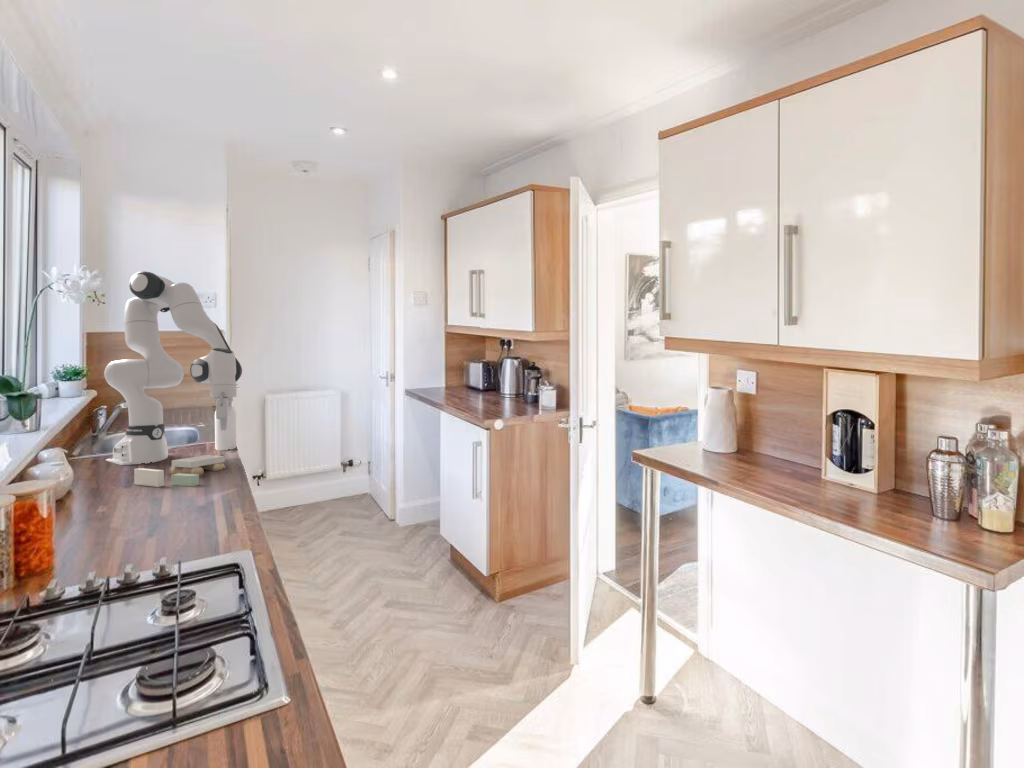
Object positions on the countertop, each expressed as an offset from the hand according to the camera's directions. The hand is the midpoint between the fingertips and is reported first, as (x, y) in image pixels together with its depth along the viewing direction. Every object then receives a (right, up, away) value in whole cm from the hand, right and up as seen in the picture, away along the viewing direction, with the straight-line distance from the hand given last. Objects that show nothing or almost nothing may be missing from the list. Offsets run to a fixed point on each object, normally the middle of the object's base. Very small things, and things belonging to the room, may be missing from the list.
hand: (223, 429), depth 216 cm
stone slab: (-4, -11, -10) cm, 15 cm away
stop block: (-11, -16, -27) cm, 33 cm away
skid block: (0, -16, -26) cm, 31 cm away
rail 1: (-6, -15, -14) cm, 22 cm away
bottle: (-11, -15, +24) cm, 30 cm away
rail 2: (-3, -15, -6) cm, 17 cm away
